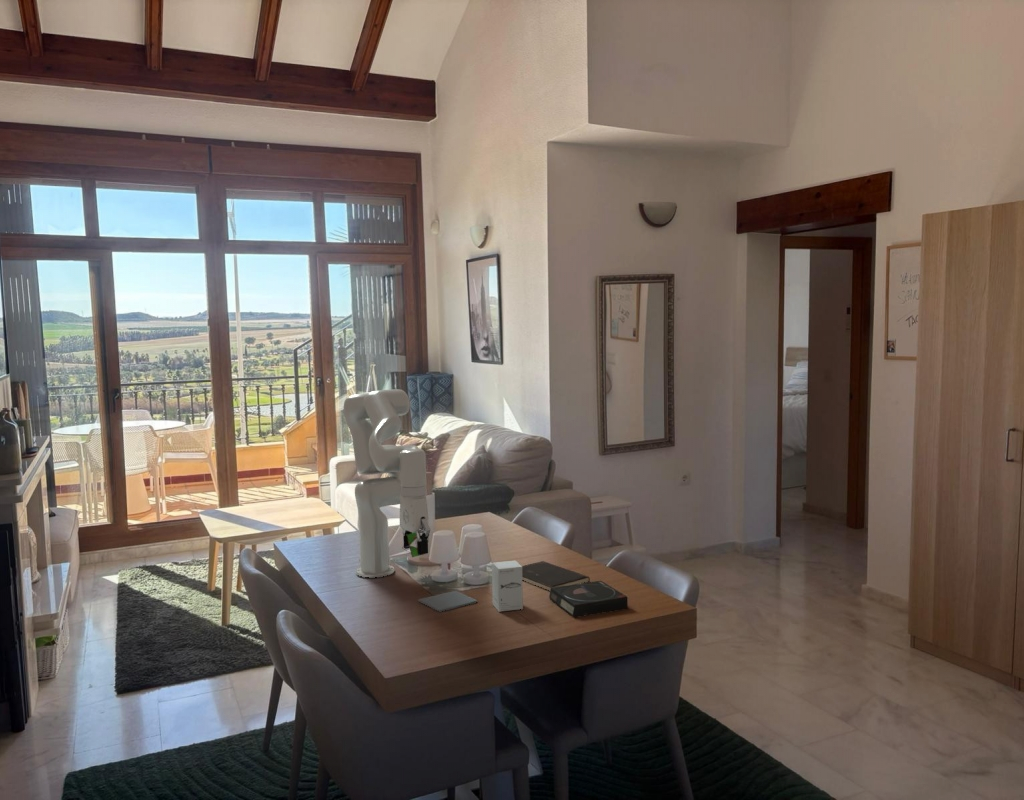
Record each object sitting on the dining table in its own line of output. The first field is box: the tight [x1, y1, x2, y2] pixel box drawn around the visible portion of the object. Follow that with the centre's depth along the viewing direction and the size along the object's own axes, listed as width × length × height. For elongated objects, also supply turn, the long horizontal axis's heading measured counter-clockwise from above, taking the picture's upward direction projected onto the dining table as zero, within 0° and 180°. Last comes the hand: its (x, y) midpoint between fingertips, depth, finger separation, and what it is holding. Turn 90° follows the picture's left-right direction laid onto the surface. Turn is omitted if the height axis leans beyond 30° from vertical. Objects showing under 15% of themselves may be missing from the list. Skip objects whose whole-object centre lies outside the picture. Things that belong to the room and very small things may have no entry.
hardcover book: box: [521, 560, 591, 592], centre depth 256 cm, size 16×23×2 cm
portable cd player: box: [548, 580, 629, 618], centre depth 230 cm, size 16×17×4 cm
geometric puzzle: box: [401, 533, 424, 558], centre depth 232 cm, size 7×7×8 cm
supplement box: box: [491, 560, 524, 613], centre depth 229 cm, size 7×7×13 cm
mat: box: [417, 590, 478, 613], centre depth 235 cm, size 12×13×1 cm
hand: (415, 550), depth 232 cm, fingers closed on geometric puzzle, 8 cm apart
